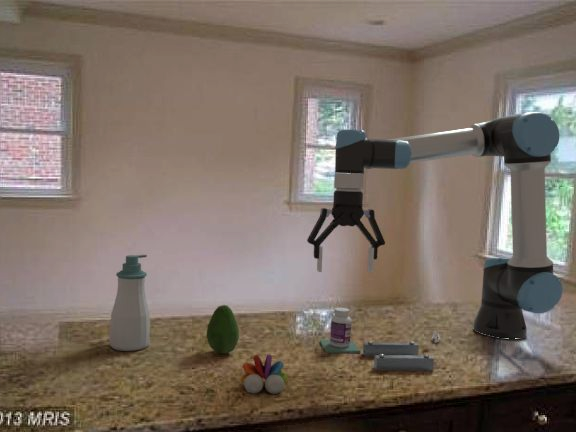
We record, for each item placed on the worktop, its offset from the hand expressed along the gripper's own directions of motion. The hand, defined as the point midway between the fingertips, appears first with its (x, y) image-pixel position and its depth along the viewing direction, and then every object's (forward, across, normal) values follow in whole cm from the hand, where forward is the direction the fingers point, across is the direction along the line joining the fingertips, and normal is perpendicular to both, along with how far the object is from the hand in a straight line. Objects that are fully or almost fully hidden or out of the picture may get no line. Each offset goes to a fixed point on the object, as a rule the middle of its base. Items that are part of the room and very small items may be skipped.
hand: (344, 271), depth 145 cm
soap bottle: (+20, +54, 0) cm, 58 cm away
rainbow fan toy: (+20, +23, +27) cm, 41 cm away
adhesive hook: (+21, -30, -6) cm, 37 cm away
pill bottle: (+20, 0, 0) cm, 20 cm away
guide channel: (+20, -12, +11) cm, 26 cm away
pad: (+20, 0, 0) cm, 20 cm away
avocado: (+20, +32, +5) cm, 38 cm away
